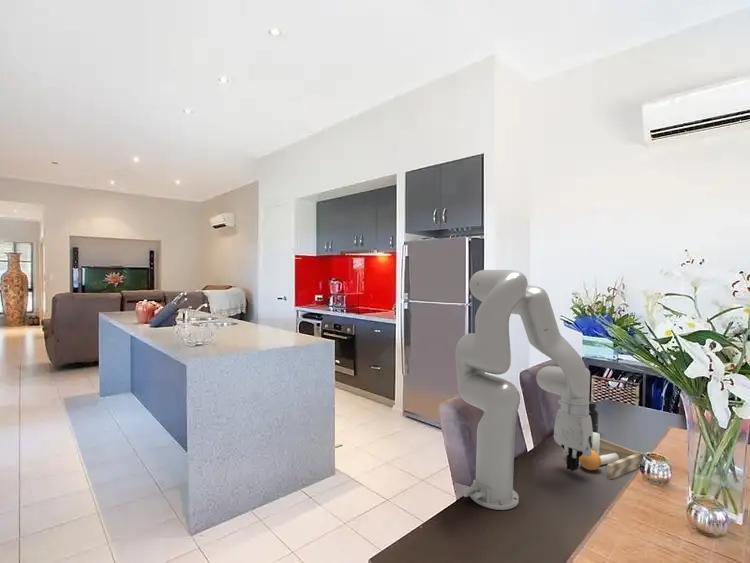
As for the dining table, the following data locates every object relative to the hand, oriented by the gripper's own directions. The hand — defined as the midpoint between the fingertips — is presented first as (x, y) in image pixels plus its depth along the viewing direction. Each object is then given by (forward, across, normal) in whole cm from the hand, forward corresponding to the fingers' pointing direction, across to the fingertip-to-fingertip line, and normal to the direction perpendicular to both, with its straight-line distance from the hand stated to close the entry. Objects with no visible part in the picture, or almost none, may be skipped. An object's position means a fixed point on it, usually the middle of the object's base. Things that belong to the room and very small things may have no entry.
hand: (572, 468), depth 126 cm
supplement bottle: (+2, -17, +35) cm, 39 cm away
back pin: (+2, -2, +16) cm, 16 cm away
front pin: (0, 0, +12) cm, 12 cm away
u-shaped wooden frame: (+2, 0, +16) cm, 16 cm away
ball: (-2, +1, +8) cm, 8 cm away
